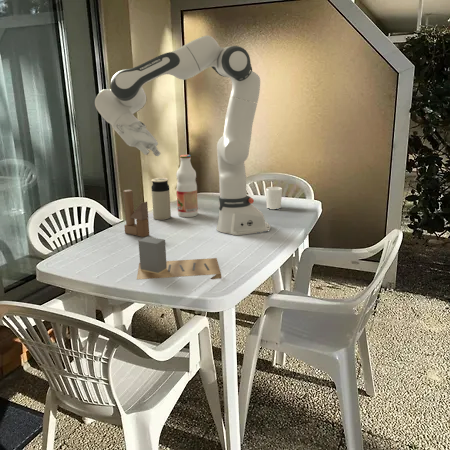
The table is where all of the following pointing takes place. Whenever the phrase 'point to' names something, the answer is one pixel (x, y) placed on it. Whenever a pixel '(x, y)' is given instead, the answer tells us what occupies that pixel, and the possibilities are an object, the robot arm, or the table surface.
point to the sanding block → (152, 255)
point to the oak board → (185, 269)
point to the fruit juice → (186, 188)
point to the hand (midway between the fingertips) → (153, 154)
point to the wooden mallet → (135, 216)
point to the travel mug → (161, 199)
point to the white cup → (273, 197)
